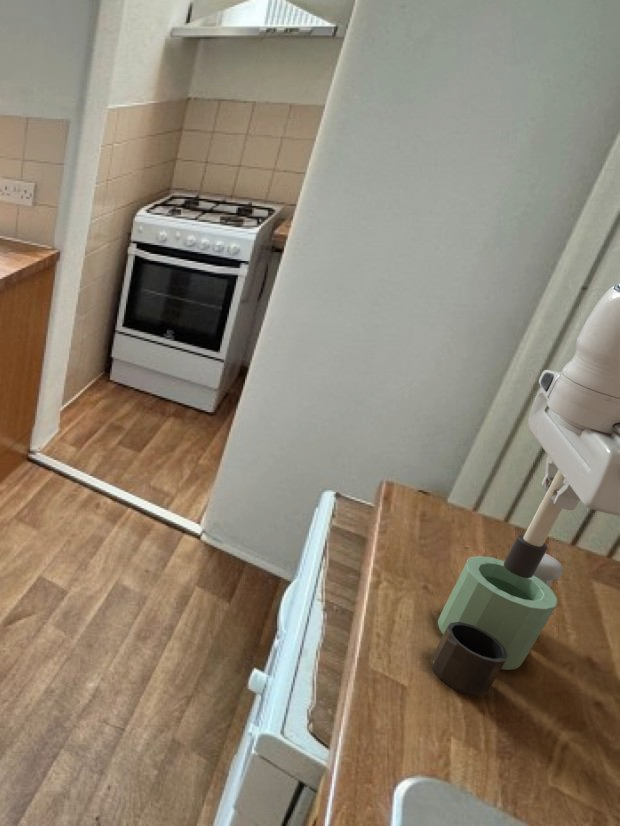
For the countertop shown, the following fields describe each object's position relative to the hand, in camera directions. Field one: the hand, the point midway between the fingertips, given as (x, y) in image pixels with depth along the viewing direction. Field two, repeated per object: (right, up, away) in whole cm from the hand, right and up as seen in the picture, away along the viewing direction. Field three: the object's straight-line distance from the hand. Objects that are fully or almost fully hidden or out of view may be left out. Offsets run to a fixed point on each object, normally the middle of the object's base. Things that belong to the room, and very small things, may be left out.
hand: (556, 498), depth 77 cm
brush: (0, -11, +4) cm, 12 cm away
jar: (+3, -26, +13) cm, 29 cm away
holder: (-5, -28, +8) cm, 29 cm away
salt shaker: (+11, -25, +16) cm, 31 cm away
